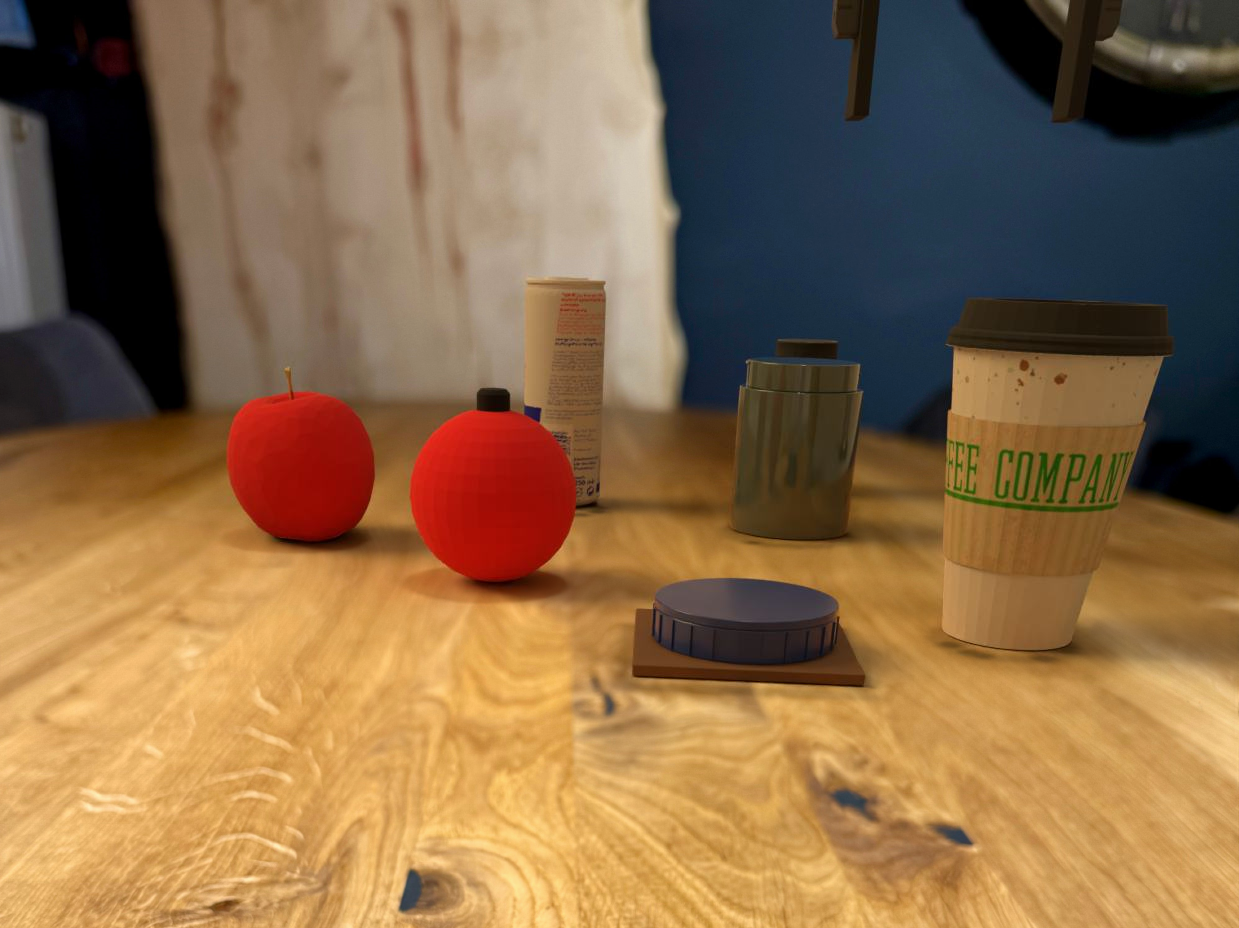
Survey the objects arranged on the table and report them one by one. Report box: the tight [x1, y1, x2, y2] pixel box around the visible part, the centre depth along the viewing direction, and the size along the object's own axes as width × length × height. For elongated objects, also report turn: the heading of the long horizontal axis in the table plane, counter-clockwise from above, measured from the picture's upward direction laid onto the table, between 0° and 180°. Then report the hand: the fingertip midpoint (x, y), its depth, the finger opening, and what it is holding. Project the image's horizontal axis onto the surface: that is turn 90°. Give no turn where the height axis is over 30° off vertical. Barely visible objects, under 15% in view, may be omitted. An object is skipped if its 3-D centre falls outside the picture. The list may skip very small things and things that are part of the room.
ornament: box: [409, 387, 577, 583], centre depth 68 cm, size 9×9×10 cm
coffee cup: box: [941, 297, 1176, 651], centre depth 60 cm, size 10×10×15 cm
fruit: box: [226, 366, 376, 543], centre depth 78 cm, size 9×9×10 cm
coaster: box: [631, 607, 866, 687], centre depth 59 cm, size 10×10×1 cm
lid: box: [652, 577, 841, 665], centre depth 59 cm, size 8×8×2 cm
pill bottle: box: [774, 338, 839, 360], centre depth 99 cm, size 6×6×11 cm
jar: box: [728, 356, 865, 541], centre depth 84 cm, size 8×8×11 cm
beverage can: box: [523, 276, 607, 507], centre depth 90 cm, size 6×6×15 cm
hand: (961, 119), depth 63 cm, fingers open, 10 cm apart
